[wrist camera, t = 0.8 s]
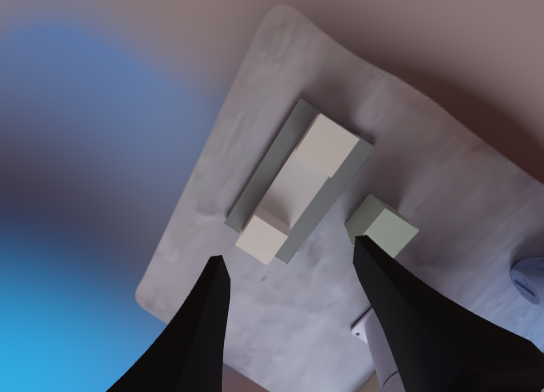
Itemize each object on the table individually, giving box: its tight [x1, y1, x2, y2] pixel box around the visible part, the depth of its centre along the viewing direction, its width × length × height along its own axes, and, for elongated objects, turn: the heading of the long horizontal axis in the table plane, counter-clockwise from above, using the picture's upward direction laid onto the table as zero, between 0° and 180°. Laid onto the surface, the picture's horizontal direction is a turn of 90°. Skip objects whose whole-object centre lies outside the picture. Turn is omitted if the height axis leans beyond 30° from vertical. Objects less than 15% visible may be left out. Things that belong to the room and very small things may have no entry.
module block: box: [344, 193, 419, 258], centre depth 27 cm, size 4×5×6 cm
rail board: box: [224, 98, 376, 265], centre depth 28 cm, size 10×18×5 cm, turn 148°
